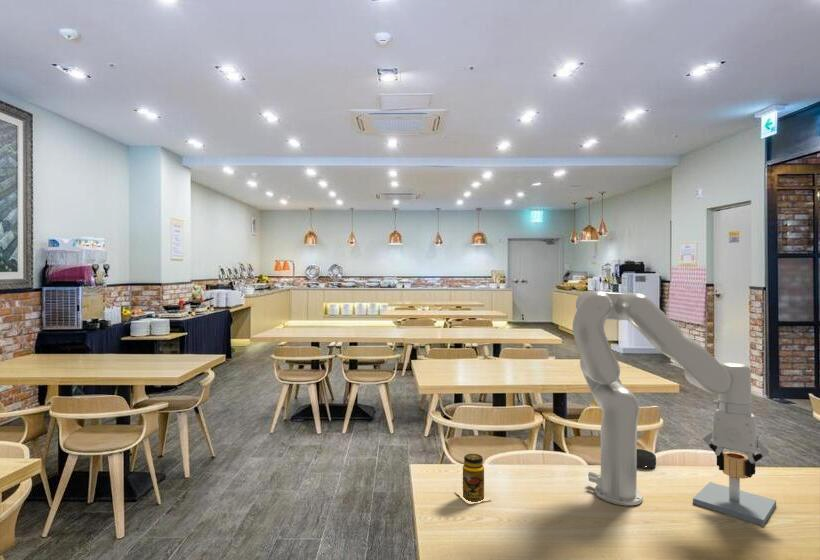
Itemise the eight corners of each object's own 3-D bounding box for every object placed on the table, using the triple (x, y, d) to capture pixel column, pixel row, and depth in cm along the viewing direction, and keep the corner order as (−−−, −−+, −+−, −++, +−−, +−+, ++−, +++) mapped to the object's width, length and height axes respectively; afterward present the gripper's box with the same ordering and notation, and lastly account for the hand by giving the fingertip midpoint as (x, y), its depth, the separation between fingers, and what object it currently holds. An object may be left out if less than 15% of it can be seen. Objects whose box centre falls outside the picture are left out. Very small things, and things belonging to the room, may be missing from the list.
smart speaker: (623, 465, 157) (623, 453, 157) (630, 457, 164) (631, 446, 164) (652, 472, 151) (652, 459, 151) (658, 464, 158) (658, 452, 158)
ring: (720, 473, 129) (719, 455, 129) (726, 467, 133) (725, 450, 133) (746, 480, 124) (745, 461, 124) (751, 474, 128) (751, 456, 128)
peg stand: (692, 503, 129) (692, 476, 129) (709, 486, 140) (709, 462, 140) (763, 525, 117) (763, 496, 117) (776, 505, 128) (776, 478, 128)
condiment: (468, 506, 127) (468, 462, 127) (454, 493, 135) (454, 452, 135) (491, 501, 130) (491, 458, 130) (475, 488, 138) (475, 448, 138)
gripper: (695, 404, 132) (696, 467, 132) (770, 416, 120) (771, 486, 120) (703, 399, 138) (704, 460, 137) (776, 411, 125) (777, 477, 125)
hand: (735, 471), depth 128 cm, fingers closed on ring, 6 cm apart
